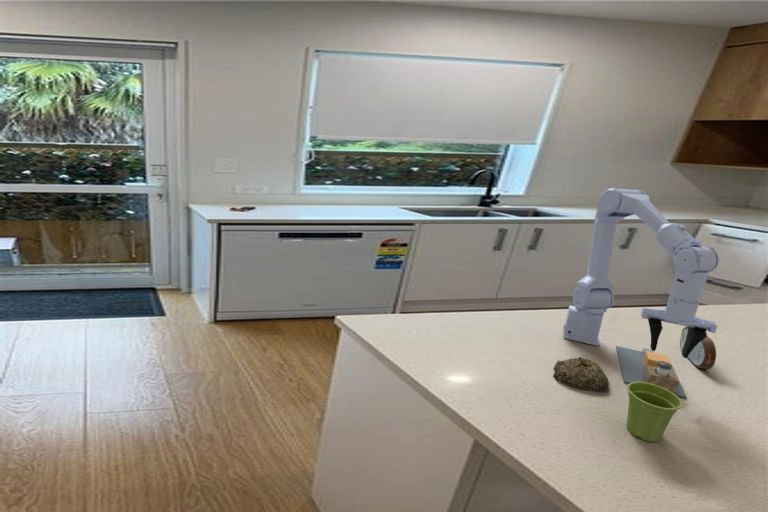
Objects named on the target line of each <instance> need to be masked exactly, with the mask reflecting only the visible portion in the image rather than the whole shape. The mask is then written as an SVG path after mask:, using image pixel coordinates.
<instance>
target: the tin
mask: <svg viewBox="0 0 768 512" xmlns="http://www.w3.org/2000/svg"><path fill="white" fill-rule="evenodd" d="M681 330H682V331H681V335H680V340H679V347H680V350H681V351H682V350H683V347H684V344H685V341H686V338H687V333H688V327H687V326H684V328H682V329H681ZM716 358H717V349H716V345H715V343H714V341H713V339H712V338H710V337H709V336H708V335H707V336H706V338H705V339H703V340H702V341H701V342H699V343H698V344H697V345H696V346H695V347H694V349H693V350H692V351H691V352H690V354H689V355H688V357H687V358H686V359H688V361H689V362H690V363H692V365H694V367H695V368H698V369H705V370H710V369H712V368H713V367H714V365H715V364H716V360H717V359H716Z"/></svg>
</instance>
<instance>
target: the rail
mask: <svg viewBox="0 0 768 512" xmlns="http://www.w3.org/2000/svg"><path fill="white" fill-rule="evenodd" d="M641 350H642V351H641V352H642V355H643V357H644V354H645V351H649V352H653V353H655V351H652V350H651V349H650V348H649V349H648V348H644V347H643V348H642V349H641Z"/></svg>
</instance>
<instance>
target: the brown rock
mask: <svg viewBox="0 0 768 512" xmlns="http://www.w3.org/2000/svg"><path fill="white" fill-rule="evenodd" d="M553 371H554V373H553V375H552V377H553V378H554V379H555V380H556V381H557V382H559V383H561V384H563V385H567V386H570V387H574V388H578V389H582V390H587V391H597V392H600V393H603V392H607V391H608V390H609V387H610V382H609V379H608V376H607V375H606V373H605V371H603V369H602V368H601V366H600V365H598V364H597V363H595V361H593V360H592V359H590V358H586V357H585V358H584V357H581V356H578V357H576V358H569V359H565V360H557V362H556V363H554V367H553Z"/></svg>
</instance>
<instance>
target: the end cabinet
mask: <svg viewBox="0 0 768 512" xmlns="http://www.w3.org/2000/svg"><path fill="white" fill-rule="evenodd" d="M657 369H658V368H657V367H653V366H649V365H646V368H645V372H644V375H643V380H644V382H646V383H650V384H654V385H657V386H660V387H662V388H665V389H667V390H669V391H670V392H672V393H674V394H675V393H676V390H677V387H678V383H679V381H680V380H678V379H679V377H678V375H677V373H676V371H675V372H674V371H670V370H669V372H668V375H667V377H666V376H661V375H657V374H656V373H657ZM675 373H676V374H675ZM676 375H677V376H676ZM677 377H678V378H677Z"/></svg>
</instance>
